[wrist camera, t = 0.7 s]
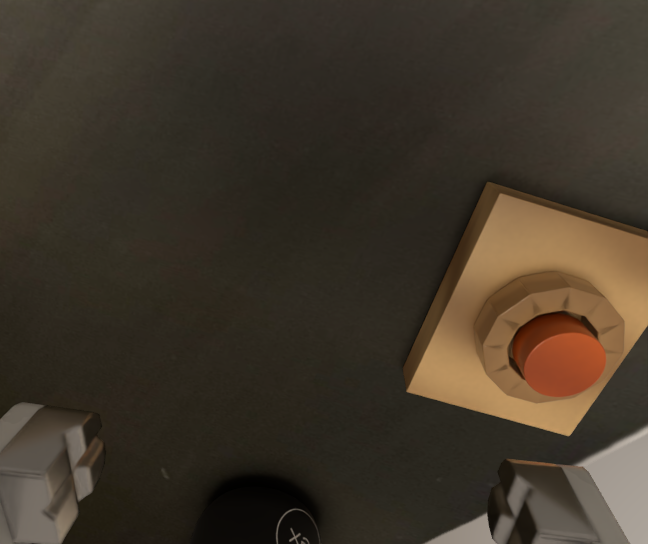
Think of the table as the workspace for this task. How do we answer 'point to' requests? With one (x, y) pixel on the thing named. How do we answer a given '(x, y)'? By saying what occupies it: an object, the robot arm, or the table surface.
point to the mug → (256, 519)
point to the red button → (558, 355)
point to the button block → (528, 304)
